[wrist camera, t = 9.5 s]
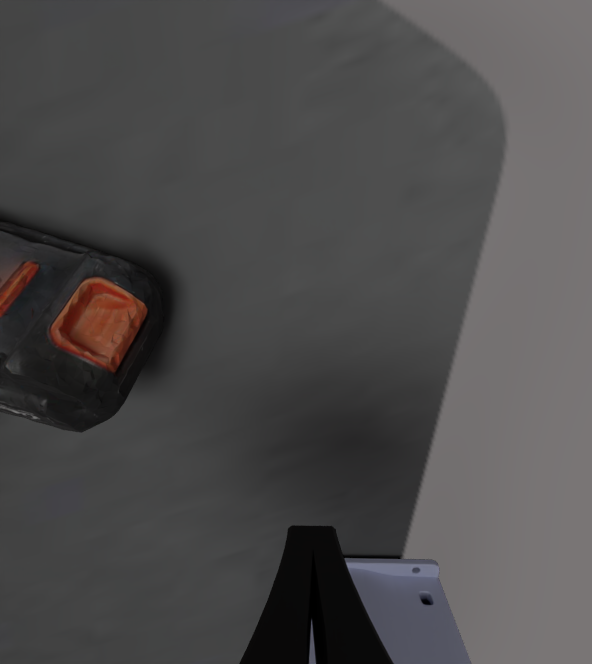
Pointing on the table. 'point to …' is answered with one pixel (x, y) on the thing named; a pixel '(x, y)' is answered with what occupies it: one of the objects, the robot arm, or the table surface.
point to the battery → (71, 329)
